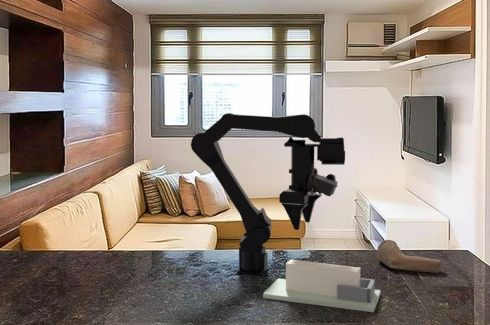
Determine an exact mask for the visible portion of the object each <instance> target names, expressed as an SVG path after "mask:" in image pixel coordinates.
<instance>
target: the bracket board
mask: <svg viewBox="0 0 490 325" xmlns="http://www.w3.org/2000/svg"><path fill="white" fill-rule="evenodd" d="M375 282H376V280H375V279H370V278H362V277H360V287H353V286H345V285H337V297H334V296H327V295H321V294H314V293H307V292H300V291H293V290H286V278H277V279H276V280H275V281H274V282H273V283H272V284H270V286H269V287H268V288H267V289H266V290H265V291H264V292H263V293H262V297H263V299H268V300H276V301H282V302H283V301H284V302H289V303H291V302H292V303H299V304H306V305H316V306H323V307H328V308H329V307H330V308H338V309H345V310H352V311H353V310H354V311H361V312H368V313H369V312H370V313H374V312H375V310H376V308H377V304H378V302H379V300H380V296H381V289H376V288H375V286H376V284H375Z"/></svg>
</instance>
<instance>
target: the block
mask: <svg viewBox="0 0 490 325" xmlns="http://www.w3.org/2000/svg"><path fill="white" fill-rule="evenodd" d="M360 278H361V267H358V266H357V267H355V266H349V265H348V266H347V265H340V264H333V263H326V262H325V263H323V262H316V261H308V260H300V259H299V260H298V259H290V260H288V261H287V262H286V263H285V279H286V290H293V291H300V292H307V293H314V294H321V295H327V296H334V297H337V285H345V286H353V287H360Z"/></svg>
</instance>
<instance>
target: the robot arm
mask: <svg viewBox="0 0 490 325" xmlns="http://www.w3.org/2000/svg"><path fill="white" fill-rule="evenodd" d="M232 129H233V130H234V129H235V130H249V131H262V132H263V131H264V132H277V133H281V134H285V135H288V136H289V138H288V139H287V141H285V142H284V144H283V146H284V147H285V148H287V147H288V148H289V147H290V149H291V150H290V153H291V158H290V159H291V160H290V162H291V163H290V164H291V166H290V168H288V174H291V177H290V178H291V180H290V183H291V184H289V185H288V188H287V189H285V190H282V192H281V193H280V194H279V196H278V197H279V203H280V204H281V206H283V209H284V211H285V212H286V215H287V216H288V218H289V220H290V222H291V225H292V227H293V229H294V231H299V230H300V229H301V228H300V226H301V220H302V217H303V219H304V222H305V223H310V222H311V219H312V214H313V211H314V207H315V203H316V201H318V200H319V198H321V197H322V194H323V195H324V196H327V197H331V196H332V195H333V196H334V194H335V191H336V188H337V187H338V184H339V183H338V181H336V175H334V174H332V173H328V174H327V175H326V176H325V175H321V174H318V173H319V172H318V169H317V167H315V148H316V161H319V162H320V163H321V165H322V166H324V165H325V166H326V165H327V166H328V165H329V166H330V165H332V166H335V165H336V166H341V165H343V166H344V165H345V162H346V151H345V138H344V137H339V136H338V137H322V136H321V134H320V133H318V132H317V131H316V124H315V121H314V119H313V117H311V116H310V115H308V114H305V113H302V114H291V115H284V116H282V115H281V116H269V115H251V114H235V113H232V112H227V113H224V114H223V115H222V116H221V118H219V119H218V120H217V121H216V122H215V123H213V124H212V125H210V127H209V128H207V129H206V130H205V131H201V132H198V133H196V134H194V135H193V137H192V138H191V142H190V148H191V150H192V151H193V153H194V154H195V156H197V157H198V158H199V160H201V162H203V163H204V164H205V165H206V166H207V167H208V168H209V169H210V170H211V172H212V173H213V174H214V176H215V177H216V180H217V181H218V182H219V184H220V185H221V187H222V189H223V190H224V191H225V194H227V197H228V198H229V199H230V201H231V203H232V204H233V205H234V207H235V209H236V211H237V213H239V215H240V218H241V222H242V224H243V228H244V230H245V232H244V234H243V235H242V237H241V238H240V241H239V247H238V268H237V270H236V273H238V274H244V275H245V274H247V275H248V274H249V275H255V276H260V275H262V274H263V273H264V272H266V271H267V270H268V269H269V264H268V252H266V251H267V250H266V247H267V246H265V245H264V244H266V243H267V242H268V241H269V240H270V238H271V234H272V228H273V227H272V218H270V217H269V216H268V214H267V213H266V210H265V208H264V207H261V208H260V209H258V208H257V207H256V206H255V205H254V204H253V202H252V201H251V199H250V198H249V197H248V195H247V193H246V192H245V190H244V189H243V187H242V185H241V184H240V182H239V181H238V179H237V178H236V176H235V174H234V173H233V172H232V170H231V168H230V166H229V165H228V163H227V162H226V160H225V159H224V155H223V152H222V149H221V146H220V143H219V141H220V140H221V139H222V138H224V136H226V135H227V133H229V132H230V131H231V130H232ZM292 136H293V137H295V138H301V139H293V137H292ZM306 139H308V140H309V141H312V142H313V143H306Z"/></svg>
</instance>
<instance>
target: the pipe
mask: <svg viewBox="0 0 490 325" xmlns="http://www.w3.org/2000/svg"><path fill="white" fill-rule="evenodd" d="M375 252H376V256H377V259H378V261H380V262H381V263H382V264H383V265H385V266H386V267H389V268H390V269H394V270H398V271H406V272H417V271H418V273H426V272H431V273H430V274H439V272H440V270H441V268H442V265H443V261H442V260H439V259H435V258H434V259H433V258H428V257H421V256H414V255H413V256H412V255H405V254H404V253H403V254H402V249H401V248H400V247H399V246H398V243H397V242H396V241H395V240H391V239H386V240H383V241H382V242H381V243H379V245H378V246H377V249H376V251H375Z"/></svg>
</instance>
